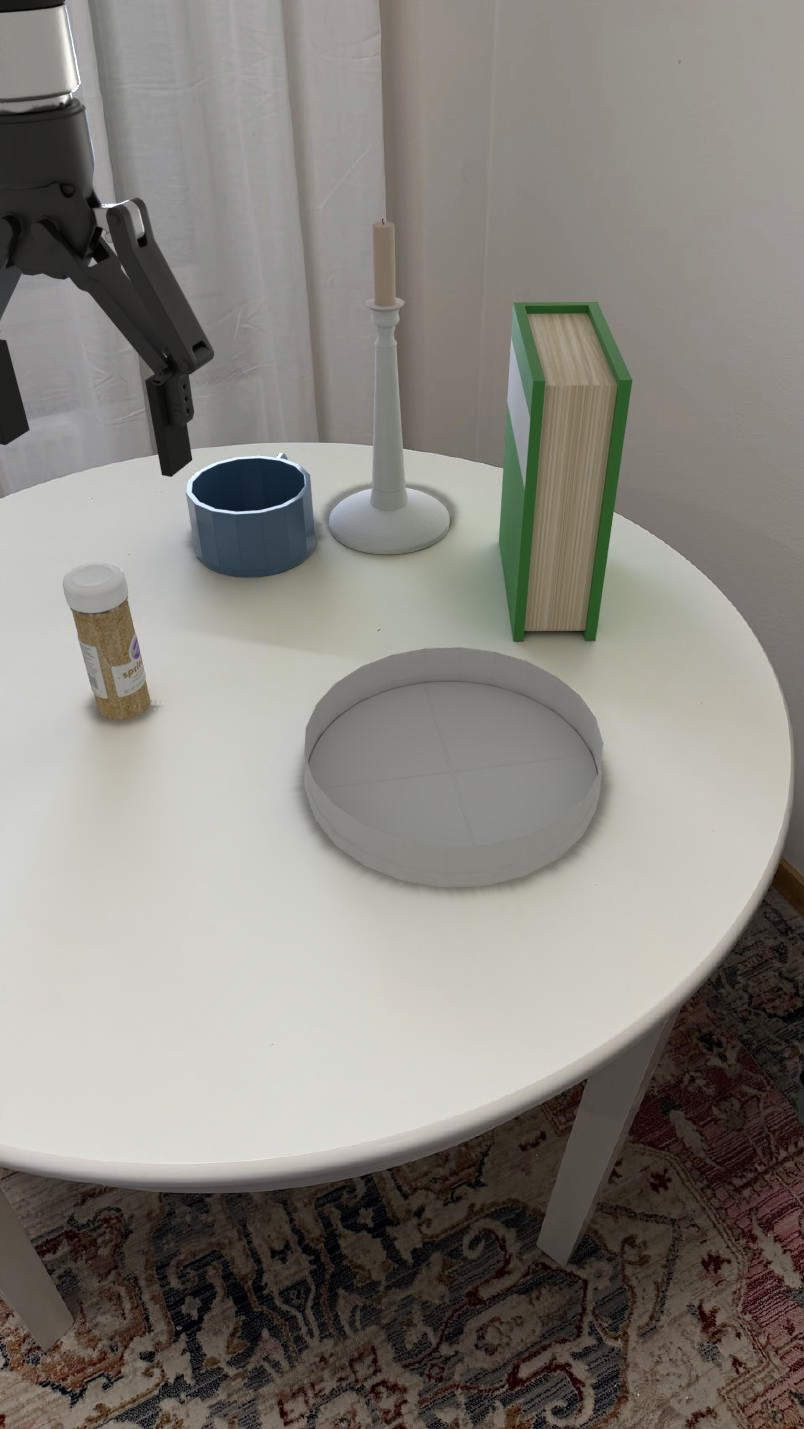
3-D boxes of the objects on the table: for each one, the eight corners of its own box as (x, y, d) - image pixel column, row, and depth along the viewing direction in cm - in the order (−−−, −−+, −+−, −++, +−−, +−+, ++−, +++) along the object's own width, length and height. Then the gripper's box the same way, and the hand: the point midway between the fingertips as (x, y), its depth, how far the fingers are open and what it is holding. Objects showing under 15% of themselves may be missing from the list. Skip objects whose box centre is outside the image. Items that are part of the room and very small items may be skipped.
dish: (551, 679, 86) (556, 632, 83) (641, 874, 70) (652, 824, 66) (292, 710, 83) (287, 662, 80) (322, 920, 67) (317, 870, 64)
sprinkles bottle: (154, 727, 82) (123, 588, 73) (97, 735, 81) (59, 595, 73) (153, 692, 85) (124, 556, 77) (98, 700, 85) (62, 562, 76)
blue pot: (290, 585, 98) (284, 521, 94) (176, 567, 101) (164, 504, 96) (340, 510, 109) (337, 450, 105) (236, 496, 112) (229, 437, 107)
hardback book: (595, 640, 91) (632, 380, 75) (513, 641, 91) (533, 381, 75) (570, 540, 104) (597, 301, 89) (498, 541, 104) (513, 302, 89)
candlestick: (412, 566, 100) (410, 247, 81) (305, 535, 105) (280, 227, 86) (470, 511, 109) (481, 210, 89) (369, 484, 114) (359, 194, 94)
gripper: (243, 100, 55) (277, 457, 69) (-110, 78, 63) (-16, 405, 76) (170, 126, 50) (223, 507, 64) (-206, 98, 57) (-87, 446, 71)
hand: (93, 452), depth 70 cm, fingers open, 13 cm apart
